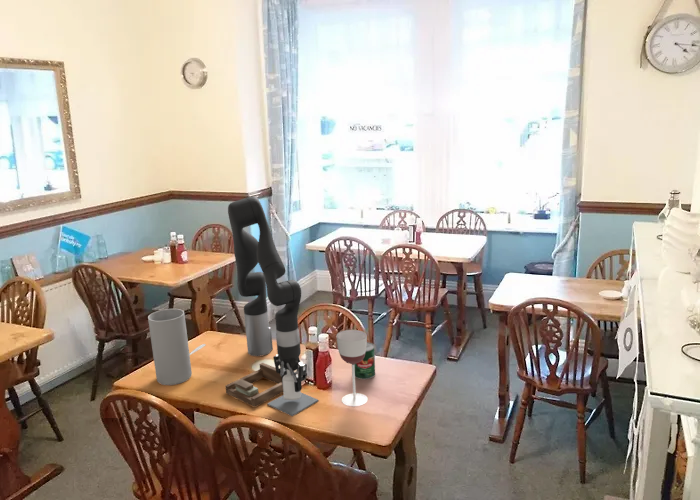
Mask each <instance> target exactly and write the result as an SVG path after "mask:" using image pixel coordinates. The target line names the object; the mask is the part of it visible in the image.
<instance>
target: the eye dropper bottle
mask: <svg viewBox="0 0 700 500" xmlns="http://www.w3.org/2000/svg"><path fill="white" fill-rule="evenodd" d="M296 377H297V378H298V375H296ZM282 381H283V392H282V394H283V395H284V399H285V400H298V399H300V397H301V393H302V390H301V391H299V392H295V385H294V382H295V381H294V378H293V376H291V373H290V371H289V370H288V369H287V375H285V376H283V379H282Z"/></svg>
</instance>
